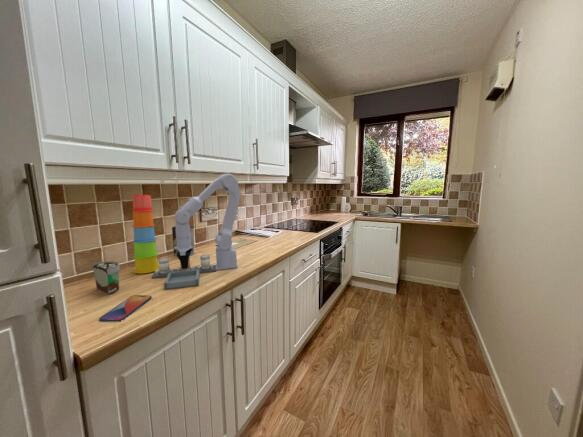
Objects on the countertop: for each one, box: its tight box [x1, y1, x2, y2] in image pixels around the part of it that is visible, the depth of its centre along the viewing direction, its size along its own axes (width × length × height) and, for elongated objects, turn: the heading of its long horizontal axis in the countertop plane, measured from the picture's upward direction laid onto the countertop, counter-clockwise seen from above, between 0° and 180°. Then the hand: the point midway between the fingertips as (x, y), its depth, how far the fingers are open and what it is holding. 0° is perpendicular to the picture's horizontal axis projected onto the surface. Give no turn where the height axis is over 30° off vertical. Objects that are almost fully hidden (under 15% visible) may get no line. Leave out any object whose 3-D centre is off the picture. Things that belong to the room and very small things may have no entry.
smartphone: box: [98, 294, 153, 322], centre depth 78 cm, size 7×15×1 cm, turn 177°
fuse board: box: [150, 263, 217, 279], centre depth 109 cm, size 26×7×2 cm, turn 109°
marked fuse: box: [179, 256, 191, 271], centre depth 109 cm, size 4×4×6 cm
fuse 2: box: [199, 254, 211, 270], centre depth 112 cm, size 4×4×6 cm
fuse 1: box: [158, 257, 171, 274], centre depth 106 cm, size 4×4×6 cm
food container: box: [92, 260, 122, 296], centre depth 91 cm, size 12×6×10 cm, turn 59°
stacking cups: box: [131, 194, 159, 275], centre depth 109 cm, size 10×10×35 cm
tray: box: [163, 269, 201, 291], centre depth 99 cm, size 12×12×2 cm
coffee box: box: [171, 225, 195, 257], centre depth 134 cm, size 9×6×16 cm
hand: (185, 266), depth 109 cm, fingers closed on marked fuse, 4 cm apart
